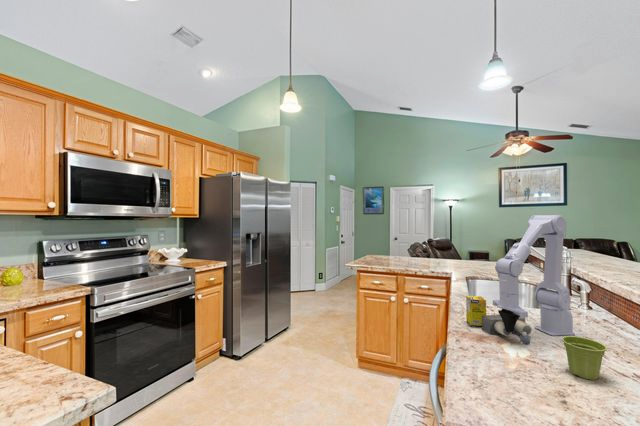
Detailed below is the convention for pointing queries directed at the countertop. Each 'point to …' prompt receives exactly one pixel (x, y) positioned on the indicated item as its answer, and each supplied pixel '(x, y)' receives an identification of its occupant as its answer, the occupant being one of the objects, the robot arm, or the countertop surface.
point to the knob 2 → (522, 327)
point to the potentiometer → (524, 339)
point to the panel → (490, 321)
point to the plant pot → (584, 356)
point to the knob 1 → (501, 328)
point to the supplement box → (475, 310)
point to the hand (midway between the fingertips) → (509, 331)
